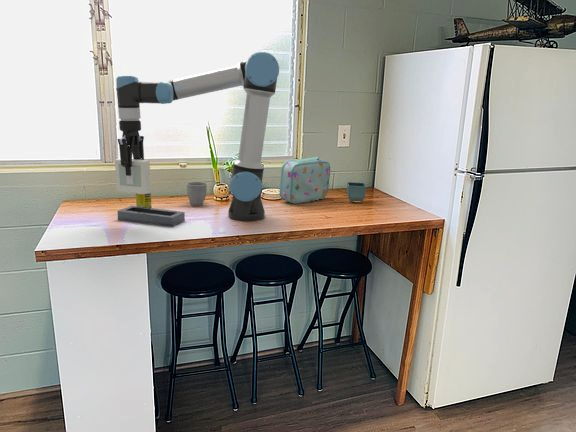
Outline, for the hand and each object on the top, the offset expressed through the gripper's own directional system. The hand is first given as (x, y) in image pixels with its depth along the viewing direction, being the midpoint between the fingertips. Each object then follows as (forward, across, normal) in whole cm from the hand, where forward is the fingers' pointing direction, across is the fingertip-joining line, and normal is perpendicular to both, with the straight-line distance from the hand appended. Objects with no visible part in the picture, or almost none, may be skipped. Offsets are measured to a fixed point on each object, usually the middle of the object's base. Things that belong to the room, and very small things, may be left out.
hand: (134, 182), depth 177 cm
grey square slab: (+3, 0, 0) cm, 3 cm away
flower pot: (+18, -72, +75) cm, 106 cm away
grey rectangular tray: (+16, -5, +3) cm, 17 cm away
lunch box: (+18, -64, +52) cm, 84 cm away
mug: (+16, -37, +7) cm, 41 cm away
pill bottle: (+16, -18, -8) cm, 25 cm away
